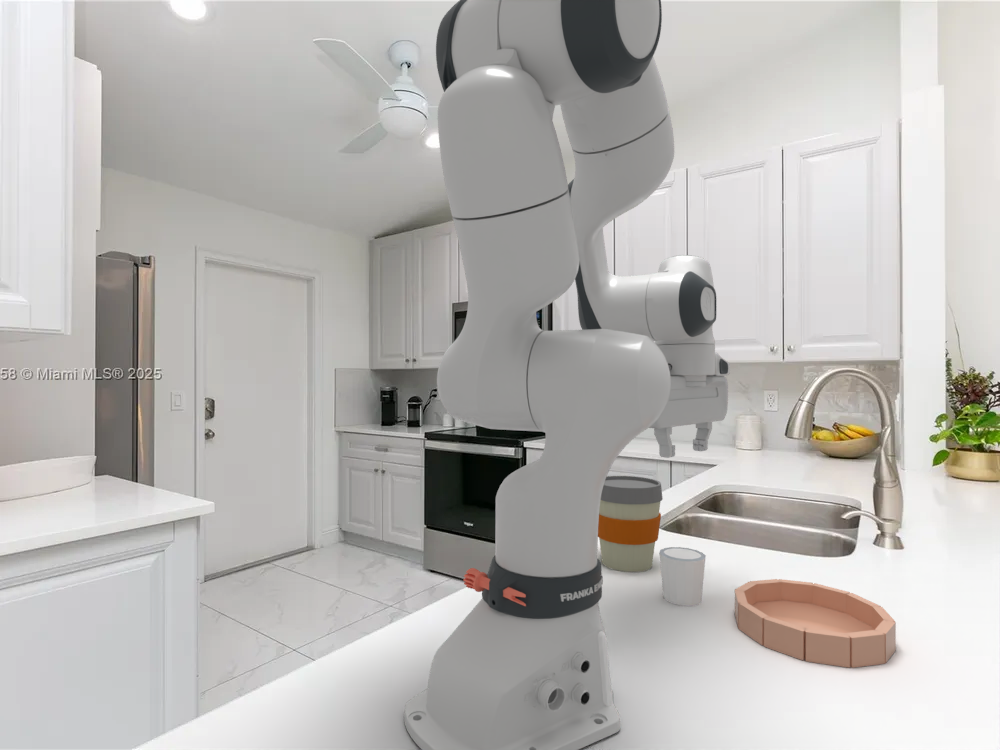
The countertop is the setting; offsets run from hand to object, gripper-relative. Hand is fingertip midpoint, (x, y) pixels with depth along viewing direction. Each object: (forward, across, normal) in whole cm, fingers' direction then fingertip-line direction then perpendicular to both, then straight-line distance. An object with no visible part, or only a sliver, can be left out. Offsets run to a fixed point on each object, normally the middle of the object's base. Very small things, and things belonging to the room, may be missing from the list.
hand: (684, 453), depth 84 cm
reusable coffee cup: (+23, +6, +15) cm, 28 cm away
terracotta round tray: (+22, +3, -17) cm, 28 cm away
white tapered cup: (+23, 0, 0) cm, 23 cm away
